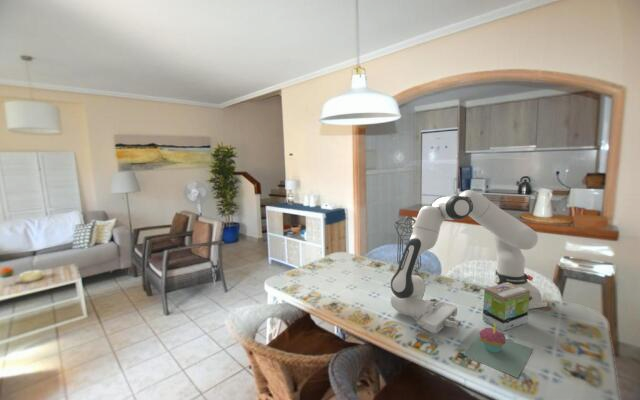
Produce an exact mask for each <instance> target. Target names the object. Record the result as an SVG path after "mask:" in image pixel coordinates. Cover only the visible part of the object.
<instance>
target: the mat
mask: <svg viewBox="0 0 640 400" xmlns="http://www.w3.org/2000/svg"><path fill="white" fill-rule="evenodd" d="M505 339H506V343H505V344H504V345H503V346H502V347H501V349H500V351H499V352H497V353H494V352H490V351H488V350H487V349H486V348H485V345H484V343H483V341H481V340H480V337H479V335H478V336H477V337H476V339H475V340H474V341H473V342H472V343H471V345H469V347H468V348H467V349H466V351H464V353H463V354H462V355H463V356H465V357H467V358H470V359H472V360H473V361H474V360H475V361H477V362H478V363H481V364H482V365H485V366H488V367H491V368H492V369H495V370H497V371H500V372H502V373H504V374H507V375H509V376H512V377H514V378H516V379H518V378H519V376H520V374H521V373H522V371H523V368H524V367H525V365H526V363H527V361H528V360H529V358H530V356H531V354H532V352H533V350H534V348H532V347H529V346H526V345H524V344H521V343H519V342H516V341H514V340H513V341H512V340H511V339H510V340H509V339H507V338H505Z"/></svg>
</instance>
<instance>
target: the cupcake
mask: <svg viewBox="0 0 640 400" xmlns="http://www.w3.org/2000/svg"><path fill="white" fill-rule="evenodd" d="M478 336H479V337H480V340H481V341H483V343H484V345H485V348H486V349H487V350H488V351H490V352H494V353H497V352H499V351H500V349H501V347H502V346H503V345H504V344H505V343H506V339H507V338H506V336H505V335H504V334H503V333H502V332H501V331H499V329H497V328H496V321H495V323H494V326H493V328H492V327H484V328H482V329H481V330H480V331H479V333H478Z"/></svg>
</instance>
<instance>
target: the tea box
mask: <svg viewBox="0 0 640 400" xmlns="http://www.w3.org/2000/svg"><path fill="white" fill-rule="evenodd" d="M483 291H484V294H483V295H484V296H483V304H482V305H483V306H482V321H484V322H485V323H487V324H489V325H491V326H493V327H494V323H495V321H496V329H497V330H500V331H502V332H505V331H507V330H510V329H513V328H515V327H518V326H522V325H524V324H527V323H528V316H529V309H528V307H529V296H530V290H527V289H524V288H522V287H519V286H517V285H514V284H512V283H509V282H506V283H503V284H499V285H496V286H495V285H493V286H489V287H486V288H484V290H483Z"/></svg>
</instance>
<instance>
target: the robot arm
mask: <svg viewBox="0 0 640 400" xmlns="http://www.w3.org/2000/svg"><path fill="white" fill-rule="evenodd" d="M467 217H469V218H471V219H472V220H473V221H475V222H476V223H478V224H479V225H481V226H482V227H483V228H484V229H486V230H487V231H489V232H490V234H491V235H492V238H493V241H494V246H495V251H496V269H495V274H494V281H495V282H494V283H495V284H494V286H496V285H499V284H503V283H506V282H509V283H512V284H514V285H517V286H519V287H522V288H524V289H527V290H530V296H529V307H528V310H531V309H538V308H546V307H548V302H547V301H546V300H545V299H544V298H543V297H542V293H541V291H540V289H538V288H537V287H536V286H535V285H533V284H532V283H530V282H529V281H533V280H534V277H533V276H531V275H529V274H527V273H525V264H526V263H525V262H526V261H525V260H526V258H525V256H524V254H523V252H522V250H526V251H527V250H531V249H533V248H534V247H535V246H536V245H537V244H538V241H539V236H538V235H539V234H538V233H537V232H536V231H535V230H534V229H532V228H531V227H530V226H528V225H527V224H525V223H524V222H522V221H521V220H519V219H517V218H516V217H515V216H513V215H512V214H509V213H508V212H506V211H504V210H503V209H502V208H501V207H499V206H498V205H496V204H495V203H494V202H492V201H491V200H489V198H487V197H486V196H484V195H483V194H481V193H478V192H476V191H474V190H472V189H466V190H464V191H462V192H460V194H459V195H446V196H440V197H437V198H435V199H434V200H433V201H432V202H431V204H430V205H425V206H422V207H421V208H420V209H419V211H418V214H417V216H416V219H415V220H416V221H415V224H414V225H413V228H414V229H413V232H412V231H411V232H412V233H411V234H410V235H411V236H410V238H409V239H410V240H407V241H408V242H406V243H407V244H406V246H405V248H404V249H403V256H402V255H401V256H402V257H401V258H400V261H401V262H400V265H399V266H398V267H397V270H396V272H395V274H393V276H392V278H391V280H390V289H391V291H392V294H391V296H390V304H391V305H390V306H391V307H392V309H394V310H395V311H396V312H398V313H400V314H402V315H404V316H406V317H412V318H413V319H415V323H416V325H419V326H421V328H422V329H424V330H426V331H428V332H430V333H432V334H438V332H440V331H441V330H442V329H443V328H444V327H454V328H456V329H457V328H459V327H460V325H461V323H462V322H461V320H460V319H457V318H456V316H457V314H458V308H457V306H456V305H454V304H451V303H449V302H445V301H443V300H442V301H440V299H438V298H431V299H425V300H424V299H423V297H424V295H425V292H426V290H427V289H426V288H427V287H426V282H425V280H424V279H423V278H422V277H421V276H420V275H418V274H413V273H414V270H415V269H416V268H415V267H416V265H417V264H416V263H417V261H418V260H417V259H419V258H420V255H422V254H423V253H425V252H427V251H429V250H432V249H433V248H434V247H435V246H436V244H437V242H438V240H439V235H440V231H441V225H442V223H443V222H444V221H454V220H455V221H460V220H463V219H466V218H467ZM414 268H415V269H414Z"/></svg>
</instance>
